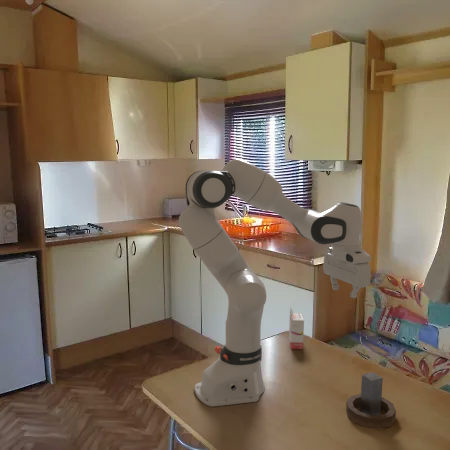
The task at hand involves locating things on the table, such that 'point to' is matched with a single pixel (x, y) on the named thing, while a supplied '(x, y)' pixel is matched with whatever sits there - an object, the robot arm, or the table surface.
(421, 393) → the table surface
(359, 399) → the walnut ring
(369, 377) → the metal peg
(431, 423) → the table surface
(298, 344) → the ink cartridge box
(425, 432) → the table surface
